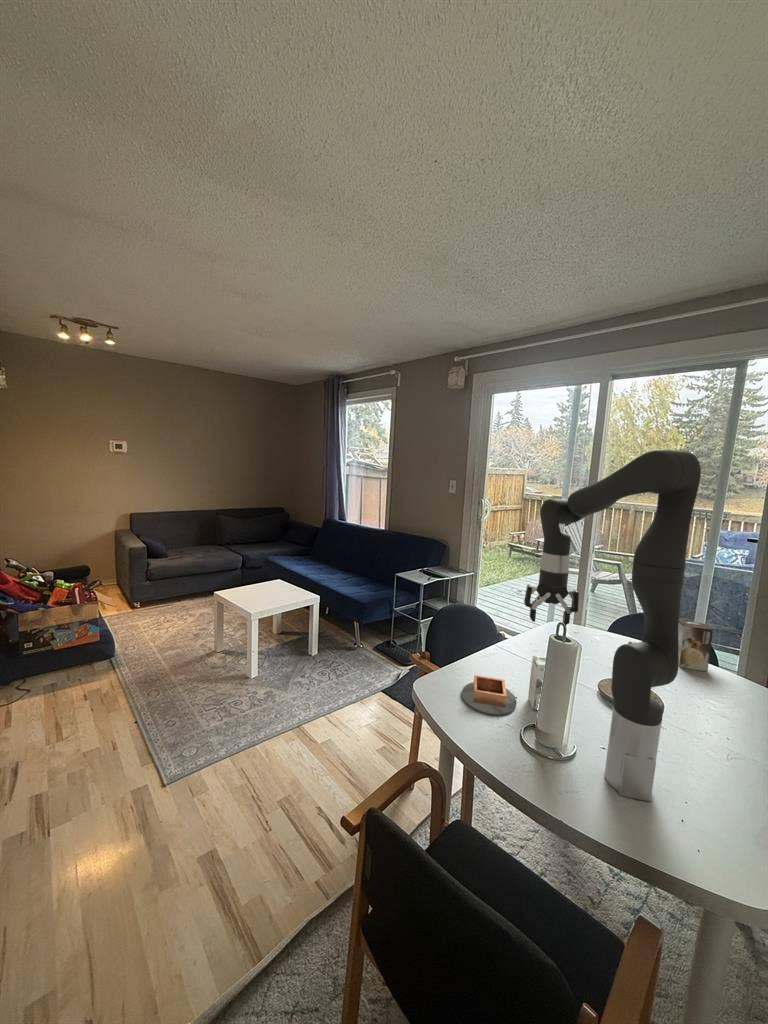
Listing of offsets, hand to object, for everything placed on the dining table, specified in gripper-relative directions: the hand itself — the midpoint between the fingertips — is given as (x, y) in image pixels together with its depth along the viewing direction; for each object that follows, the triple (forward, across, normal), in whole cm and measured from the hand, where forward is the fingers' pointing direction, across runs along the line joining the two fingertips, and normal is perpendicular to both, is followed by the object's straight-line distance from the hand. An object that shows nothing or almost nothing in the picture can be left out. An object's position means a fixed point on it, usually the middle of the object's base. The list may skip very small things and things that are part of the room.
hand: (548, 622), depth 117 cm
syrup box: (+26, 0, 0) cm, 26 cm away
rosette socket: (+26, -15, -1) cm, 30 cm away
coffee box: (+26, +59, +44) cm, 78 cm away
